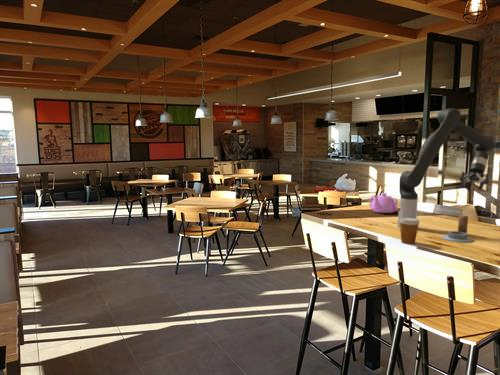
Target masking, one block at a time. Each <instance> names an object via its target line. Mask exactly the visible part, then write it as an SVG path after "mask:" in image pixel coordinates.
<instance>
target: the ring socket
mask: <svg viewBox="0 0 500 375" xmlns="http://www.w3.org/2000/svg"><path fill="white" fill-rule="evenodd" d="M441 238H442V240H445V241H449V242H454V243H463V244H464V243H472V242H473V241H474V239H473V238H472V237H470V236H468V232H467V233H464V232H459V231H458V230H456V231H455V230H450V231H449V230H448V233H447V234H443V235H442V237H441Z"/></svg>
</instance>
